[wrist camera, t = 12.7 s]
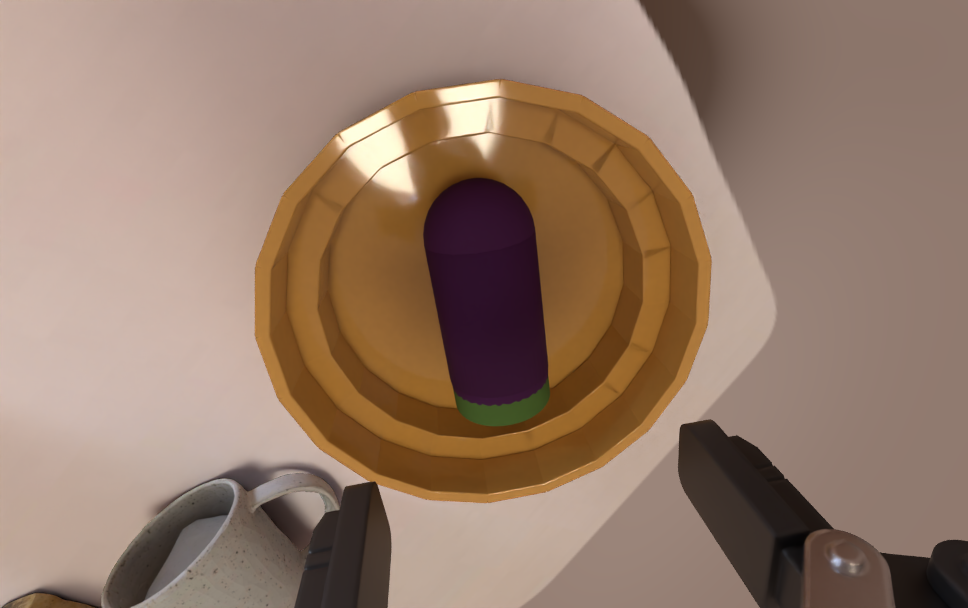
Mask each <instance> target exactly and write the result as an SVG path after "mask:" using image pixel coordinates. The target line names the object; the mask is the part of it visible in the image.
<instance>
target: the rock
mask: <svg viewBox="0 0 968 608" xmlns="http://www.w3.org/2000/svg"><path fill="white" fill-rule="evenodd" d="M2 608H95V607H92V606H89V605H87V604H83V603H78V602H73V601H66V600H63V599H61V598H59V597H57V596H54V595H49V594H43V593H34V594H31V595H28V596H25V597H23V598H20V599H18V600H15V601H13V602H10V603H8V604H6V605H5V606H4V607H2Z"/></svg>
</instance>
